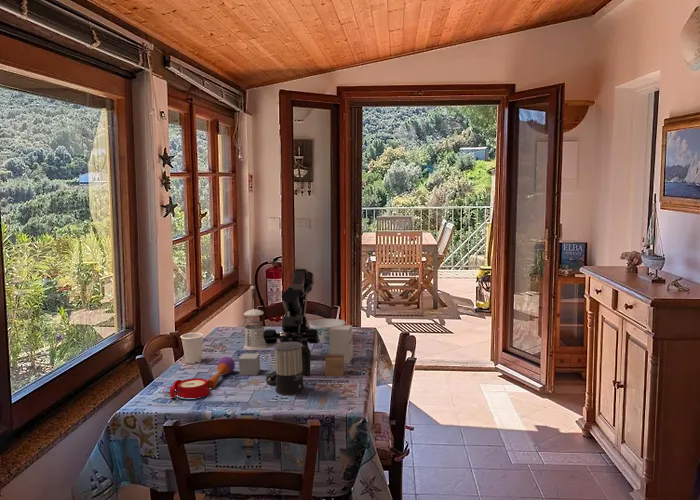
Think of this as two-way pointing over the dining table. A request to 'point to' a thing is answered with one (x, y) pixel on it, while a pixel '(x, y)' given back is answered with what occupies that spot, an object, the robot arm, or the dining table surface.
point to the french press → (254, 330)
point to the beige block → (249, 364)
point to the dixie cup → (192, 346)
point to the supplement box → (342, 341)
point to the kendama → (222, 370)
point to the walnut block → (334, 365)
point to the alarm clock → (190, 388)
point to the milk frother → (290, 367)
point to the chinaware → (325, 327)
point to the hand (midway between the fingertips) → (289, 358)
